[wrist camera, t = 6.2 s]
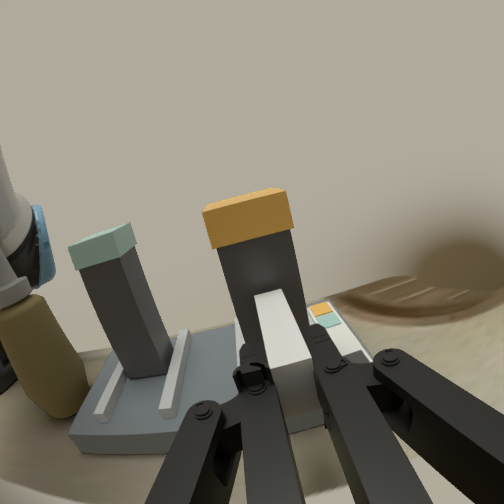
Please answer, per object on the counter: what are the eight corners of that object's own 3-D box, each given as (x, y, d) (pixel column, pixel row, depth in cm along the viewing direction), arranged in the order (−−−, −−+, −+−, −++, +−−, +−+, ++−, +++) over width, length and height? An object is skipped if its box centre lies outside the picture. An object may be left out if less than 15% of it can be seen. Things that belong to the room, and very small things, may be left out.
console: (82, 452, 18) (60, 425, 17) (121, 366, 31) (109, 342, 30) (387, 401, 18) (388, 366, 17) (331, 318, 31) (327, 290, 31)
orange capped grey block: (260, 401, 18) (201, 212, 15) (255, 365, 23) (207, 204, 19) (323, 384, 18) (285, 190, 15) (308, 351, 23) (273, 187, 19)
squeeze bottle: (50, 390, 27) (-14, 254, 23) (102, 376, 30) (39, 230, 25) (37, 431, 20) (-50, 271, 15) (96, 419, 22) (8, 241, 18)
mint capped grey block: (126, 380, 24) (67, 247, 20) (137, 355, 28) (89, 235, 25) (169, 374, 24) (112, 231, 20) (176, 348, 28) (130, 222, 25)
